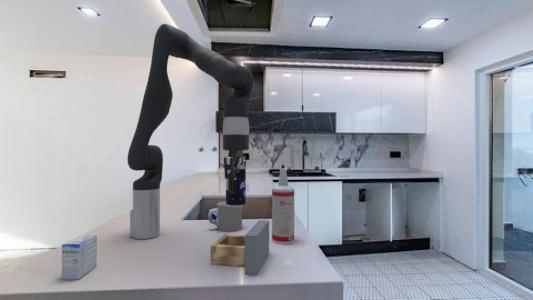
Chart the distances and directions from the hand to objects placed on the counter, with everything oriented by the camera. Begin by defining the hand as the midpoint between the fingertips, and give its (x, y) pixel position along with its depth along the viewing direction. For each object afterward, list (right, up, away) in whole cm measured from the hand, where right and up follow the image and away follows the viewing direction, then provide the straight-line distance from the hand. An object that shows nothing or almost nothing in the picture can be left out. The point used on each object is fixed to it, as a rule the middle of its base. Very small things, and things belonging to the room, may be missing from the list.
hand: (235, 192), depth 82 cm
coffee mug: (-8, -20, +32) cm, 38 cm away
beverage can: (0, -4, 0) cm, 4 cm away
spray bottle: (+15, -20, +16) cm, 29 cm away
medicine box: (-39, -19, -10) cm, 44 cm away
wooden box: (0, -19, 0) cm, 19 cm away
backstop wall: (+7, -19, -3) cm, 21 cm away
